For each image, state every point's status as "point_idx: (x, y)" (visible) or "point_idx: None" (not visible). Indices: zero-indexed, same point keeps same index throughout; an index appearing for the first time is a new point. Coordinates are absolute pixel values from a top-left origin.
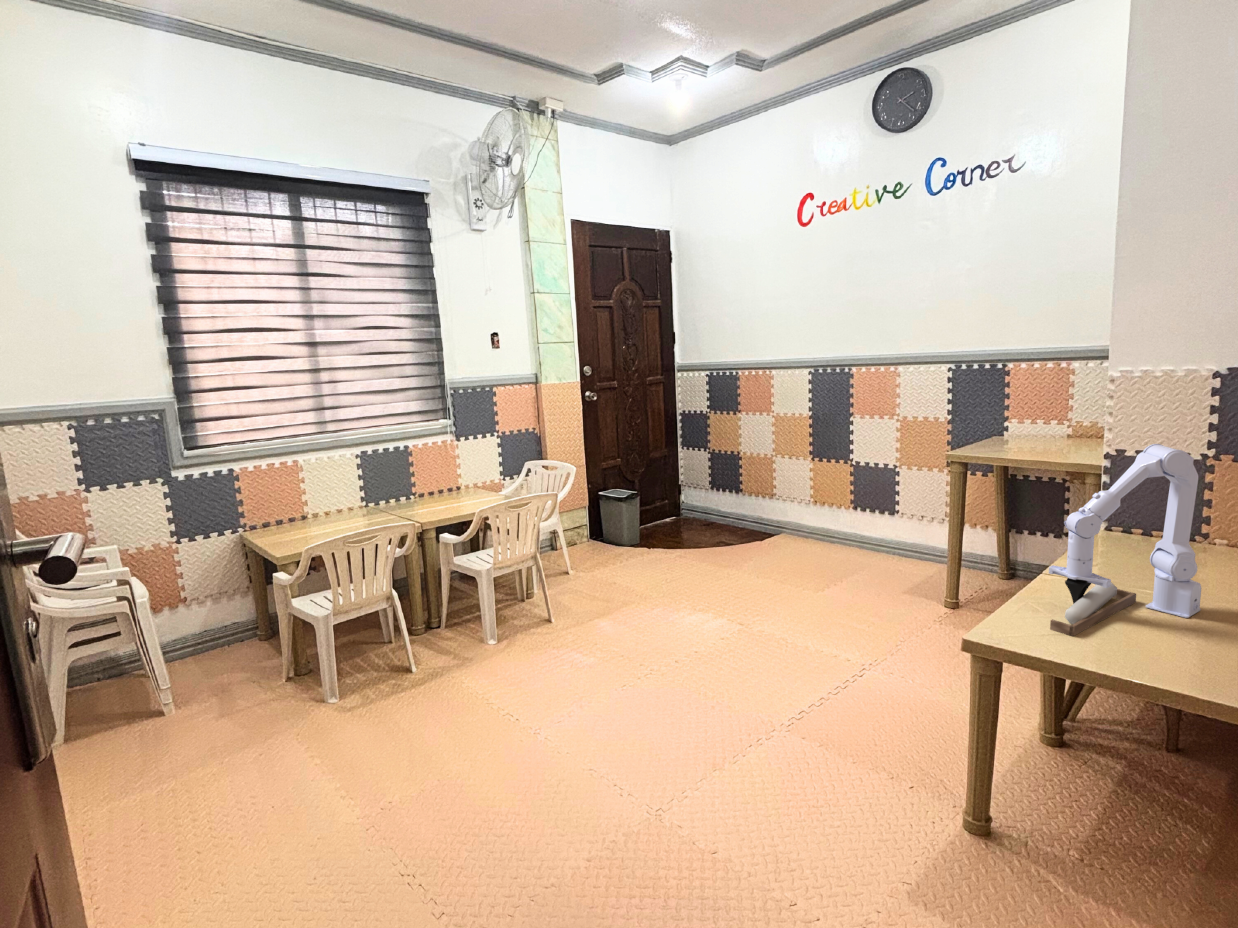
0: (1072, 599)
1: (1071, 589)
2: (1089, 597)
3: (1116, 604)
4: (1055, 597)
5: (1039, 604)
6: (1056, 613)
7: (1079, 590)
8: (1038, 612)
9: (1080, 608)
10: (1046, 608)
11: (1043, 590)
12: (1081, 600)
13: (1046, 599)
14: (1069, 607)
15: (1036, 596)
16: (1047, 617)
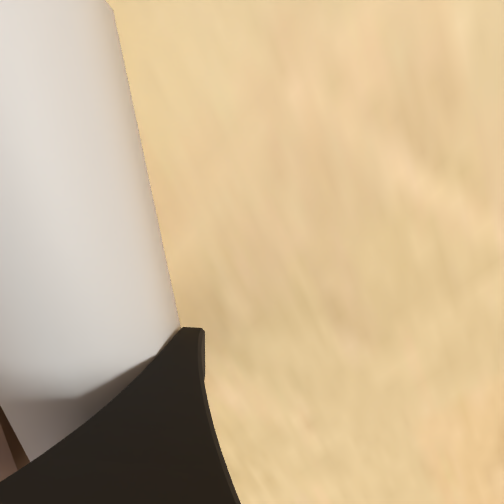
0: (197, 357)
1: (170, 458)
2: (41, 434)
3: (4, 477)
4: (380, 421)
5: (433, 261)
6: (271, 177)
7: (27, 472)
8: (393, 85)
9: None
10: (367, 223)
11: (466, 465)
12: (17, 310)
13: (416, 368)
14: (100, 136)
15: (484, 373)
16: (288, 18)
